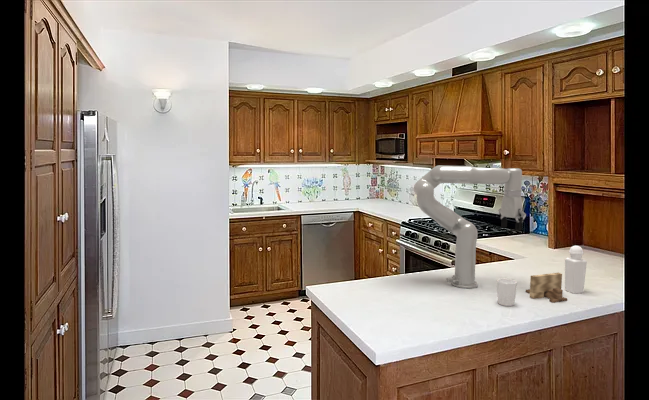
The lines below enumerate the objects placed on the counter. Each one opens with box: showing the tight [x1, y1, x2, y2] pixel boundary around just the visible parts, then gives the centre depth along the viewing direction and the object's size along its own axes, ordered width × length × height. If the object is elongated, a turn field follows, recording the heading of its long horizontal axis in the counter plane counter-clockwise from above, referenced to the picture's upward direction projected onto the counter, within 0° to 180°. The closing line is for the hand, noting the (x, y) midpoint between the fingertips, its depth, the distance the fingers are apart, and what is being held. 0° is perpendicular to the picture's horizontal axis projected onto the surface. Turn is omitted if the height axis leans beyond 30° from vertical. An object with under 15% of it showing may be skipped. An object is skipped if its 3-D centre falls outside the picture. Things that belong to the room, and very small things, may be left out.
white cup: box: [496, 278, 518, 307], centre depth 190 cm, size 8×8×10 cm
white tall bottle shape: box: [564, 245, 588, 294], centre depth 206 cm, size 6×6×22 cm
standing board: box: [525, 288, 568, 304], centre depth 200 cm, size 16×8×5 cm, turn 19°
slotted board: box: [529, 272, 563, 300], centre depth 200 cm, size 16×2×10 cm, turn 109°
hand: (511, 228), depth 214 cm, fingers open, 9 cm apart
